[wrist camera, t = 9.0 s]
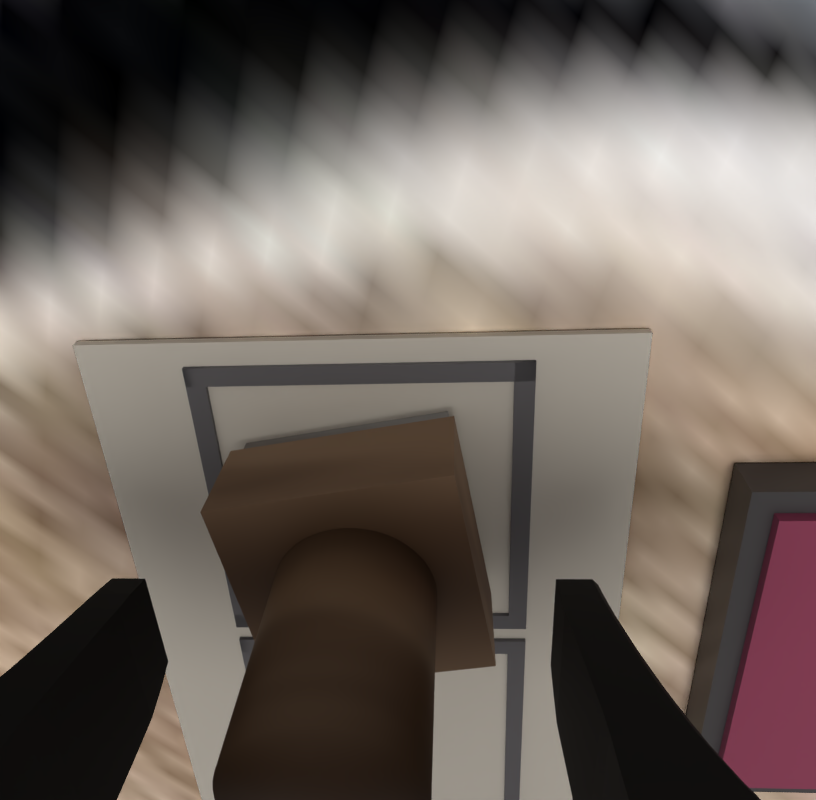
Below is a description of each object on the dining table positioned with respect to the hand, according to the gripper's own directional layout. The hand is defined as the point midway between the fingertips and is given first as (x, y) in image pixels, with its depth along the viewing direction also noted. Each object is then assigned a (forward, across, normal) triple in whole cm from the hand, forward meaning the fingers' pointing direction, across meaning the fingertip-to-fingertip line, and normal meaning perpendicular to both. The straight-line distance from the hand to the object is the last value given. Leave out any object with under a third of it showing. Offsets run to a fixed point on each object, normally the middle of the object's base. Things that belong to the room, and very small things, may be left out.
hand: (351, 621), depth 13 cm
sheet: (+3, 0, +4) cm, 5 cm away
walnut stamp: (+3, 0, 0) cm, 3 cm away
